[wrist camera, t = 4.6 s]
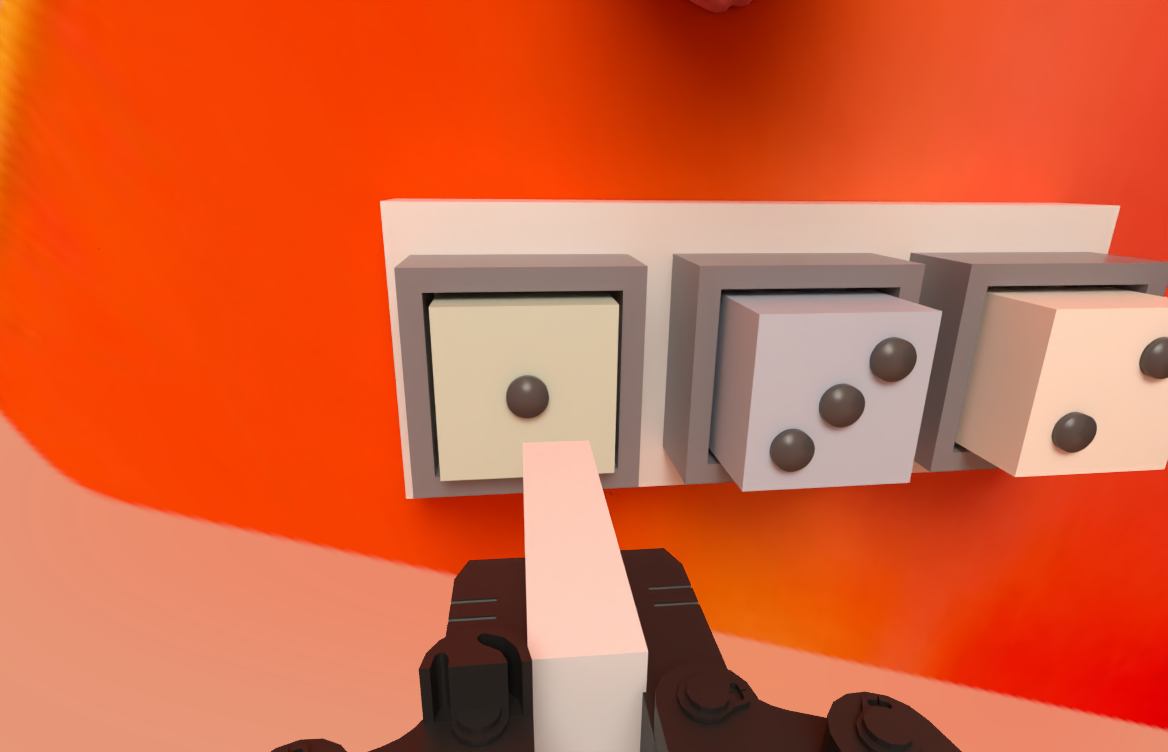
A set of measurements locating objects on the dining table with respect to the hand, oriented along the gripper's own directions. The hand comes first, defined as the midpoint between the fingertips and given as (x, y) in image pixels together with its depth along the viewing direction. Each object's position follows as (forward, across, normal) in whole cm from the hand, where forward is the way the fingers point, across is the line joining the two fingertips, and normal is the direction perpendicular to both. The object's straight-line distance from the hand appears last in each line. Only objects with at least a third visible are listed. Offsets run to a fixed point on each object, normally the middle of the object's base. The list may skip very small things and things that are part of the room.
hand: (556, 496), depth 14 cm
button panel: (+14, -9, 0) cm, 17 cm away
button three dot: (+9, -9, 0) cm, 13 cm away
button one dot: (+11, +1, 0) cm, 11 cm away
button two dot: (+9, -19, 0) cm, 22 cm away
